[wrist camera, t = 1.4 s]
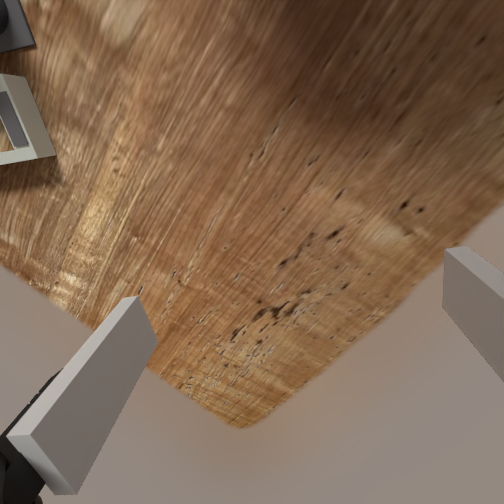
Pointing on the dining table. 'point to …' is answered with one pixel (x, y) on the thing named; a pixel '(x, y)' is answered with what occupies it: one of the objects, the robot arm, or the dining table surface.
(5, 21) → the barrel peg
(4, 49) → the mat
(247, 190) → the dining table surface
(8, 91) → the slotted holder block
